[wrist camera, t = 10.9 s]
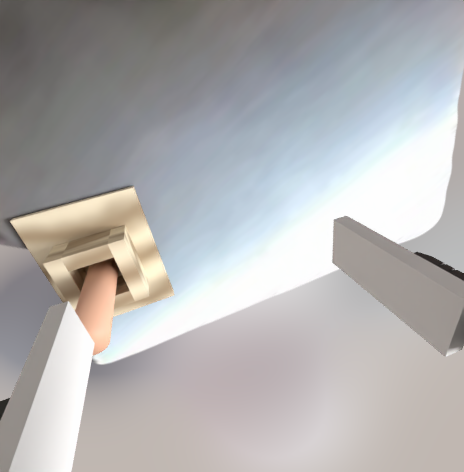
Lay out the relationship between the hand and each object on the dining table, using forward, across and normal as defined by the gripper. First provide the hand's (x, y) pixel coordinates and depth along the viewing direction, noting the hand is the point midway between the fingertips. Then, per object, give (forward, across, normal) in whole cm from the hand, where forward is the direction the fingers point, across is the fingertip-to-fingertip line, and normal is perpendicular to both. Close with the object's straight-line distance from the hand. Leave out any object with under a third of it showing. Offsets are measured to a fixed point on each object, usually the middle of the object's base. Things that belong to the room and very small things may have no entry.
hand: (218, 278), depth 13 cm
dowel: (+28, -13, -12) cm, 34 cm away
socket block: (+29, -13, -12) cm, 34 cm away
